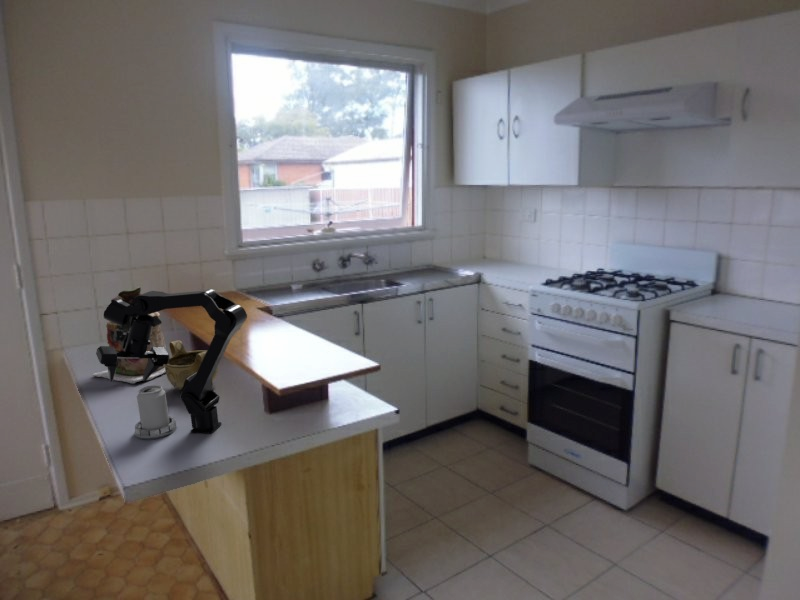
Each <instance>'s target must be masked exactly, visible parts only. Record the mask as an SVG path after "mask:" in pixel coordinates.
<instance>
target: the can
mask: <svg viewBox="0 0 800 600" xmlns="http://www.w3.org/2000/svg"><path fill="white" fill-rule="evenodd" d="M136 399H137V406H138V407H137V408H138V413H139V421H141V426H142V429H143V430H154V429H159V428H162V427H165V426H167V425H169V423H170V422H169V416H170V415H169V410H168V409H169V408H168V402H167V393H166V391H165V390H164V389H163V386H162V385H157V384H153V385H147V386H144V387H142V388H140V389H139V390H138V394H137V395H136Z"/></svg>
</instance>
